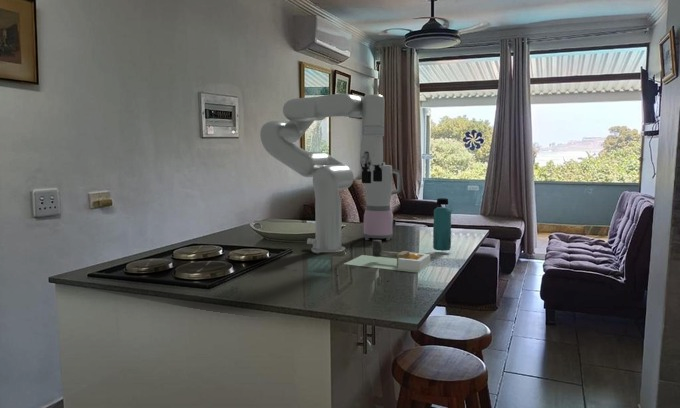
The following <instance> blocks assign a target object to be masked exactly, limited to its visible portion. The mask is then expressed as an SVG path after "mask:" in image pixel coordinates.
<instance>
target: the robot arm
mask: <svg viewBox="0 0 680 408" xmlns="http://www.w3.org/2000/svg"><path fill="white" fill-rule="evenodd" d="M385 103H386V102H385V97H384V96H383V94H382V95H381V94H377V93H376V94H365V95H364V96H362V95H356V94H350V93H334V94H325V95H319V96H311V97H300V98H299V97H298V98H297V97H296V98H290V99H288V100H287V101H285V103H284V105H283V106H282V113H283V116H284V117H285V118H286V119H287V120H288V121H286V120H285V121H284V120H271V121H267V122H265V123H264V124H263V125H262V127H261V128H260V133H259V135H260V141H261V143H262V144H261V145H262V146H263V148H264V150H265V151H266V152H267V153H268V154H269V155H270V156H272V157H273V158H274V159H275V160H277V161H279V162H281V163H282V164H284V165H285V166H286V167H288V168H289V169H291V170H293V171H294V172H295V173H297V174H298V175H300V176H302V177H304V178H312V185H313V190H314V203H315V204H314V206H315V207H314V208H315V209H314V210H315V238H310V237H309V238H307V239H306V244H307V245H311V246H312V247H311V252H312V253H314V254H320V253H338V252H343V251H345V250H346V247H345V246H343V245H342V210H343V209H342V199H341V195H340V192H339V191H342V190H346V189H348V188H350V187H351V186H352V185H353V183H354V180H355V179H354V178H355V176H354V172H353V170H352V169H351V168H350V166H348V165H347V164H346V163H343V162H342V161H340V160H339V159H337V158H335V157H333V156H332V155H330V154H328V153H325V152H323V151H307V150H305V149H304V148H301V147H300V146H299V145H297V144H295V143H296V142H298V141H299V140H300V139H301V138H302V137H303V135H304V134H305V133H306V132H307V130H308V129H309V128H310V127H311V126H312V124H313V123H314V122H317V121H318V122H319V121H324V120H325V118H331V117H332V118H333V117H335V118H336V117H344V118H345V117H347V118H355V119H356V118H357V119H358V118H361V141H360V151H359V164H360V167H361V169H360V171H361V183H362V184H365V183H371V171H370V169H371V166H372V165H373V166H374V170H373V181H377V182H381V181H382V170H383V167H382V166H383V162H384V142H383V140H384V139H383V137H384V136H385ZM376 165H377V166H376Z"/></svg>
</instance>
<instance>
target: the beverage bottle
mask: <svg viewBox="0 0 680 408" xmlns="http://www.w3.org/2000/svg"><path fill="white" fill-rule="evenodd" d="M436 205H441V206H442V205H443V206H442V207H441V206H440V207H439V206H437V207H436V208H435V209H434V210H433V228H432V229H433V231H432V235H433V236H432V248H433V250H435V251H442V252H443V251H445V252H446V251H450V250H451V247H452V210H451V209H450V208H449V207H444V205H449V199H448V198H444V197H439V198H437V199H436Z"/></svg>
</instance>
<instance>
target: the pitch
mask: <svg viewBox="0 0 680 408" xmlns="http://www.w3.org/2000/svg"><path fill="white" fill-rule="evenodd" d="M433 263H434V262H432V261H430V264H429V265H428V266H426V267H425V268H423V269H422V270H421V271H415V270H406V269H398V266H397V257H387V256H381V257H374V256H372V255H366V254H362V255H359V256H356V257H355V258H353V259H351V260H349V261H348V262H347V261H346V262H344V263H343V265H350V266H357V267H364V268H365V267H366V268H375V269H384V270H392V271H400V272H407V273H408V272H409V273H418V274H419V273H421V272H422V271H423V270H425V269H427V267H429V266H430V265H431V264H433Z"/></svg>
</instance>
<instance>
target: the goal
mask: <svg viewBox="0 0 680 408" xmlns="http://www.w3.org/2000/svg"><path fill="white" fill-rule="evenodd" d="M413 253H415V254H418V255H419V256H420V258H419V259H417V260H414V259H404V258H399V259H398V269H406V270H415V271H421V270H422V269H423V268H425V267H426V266H427V267H429V266H430V265H431V264H430V262H431V254H430V253H420V252H411V251H409V255H410V254H413ZM429 264H430V265H429ZM428 265H429V266H428ZM427 267H426V268H427ZM426 268H425V269H426ZM423 270H424V269H423ZM423 270H422V271H423ZM422 271H421V272H422Z"/></svg>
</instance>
